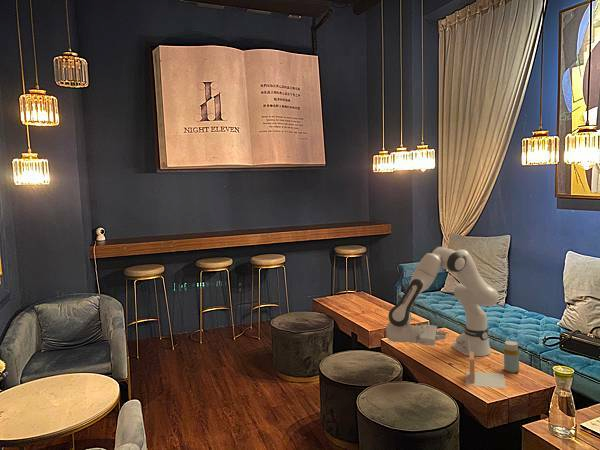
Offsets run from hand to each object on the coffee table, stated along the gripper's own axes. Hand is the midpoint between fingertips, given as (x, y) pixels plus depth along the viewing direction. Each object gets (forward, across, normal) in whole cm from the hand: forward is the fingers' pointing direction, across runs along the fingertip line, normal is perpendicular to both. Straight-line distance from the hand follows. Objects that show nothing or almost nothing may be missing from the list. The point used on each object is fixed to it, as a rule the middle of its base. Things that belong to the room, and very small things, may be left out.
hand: (445, 335), depth 243 cm
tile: (+12, 0, +22) cm, 25 cm away
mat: (+18, 0, +22) cm, 28 cm away
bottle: (+31, +13, +22) cm, 41 cm away
